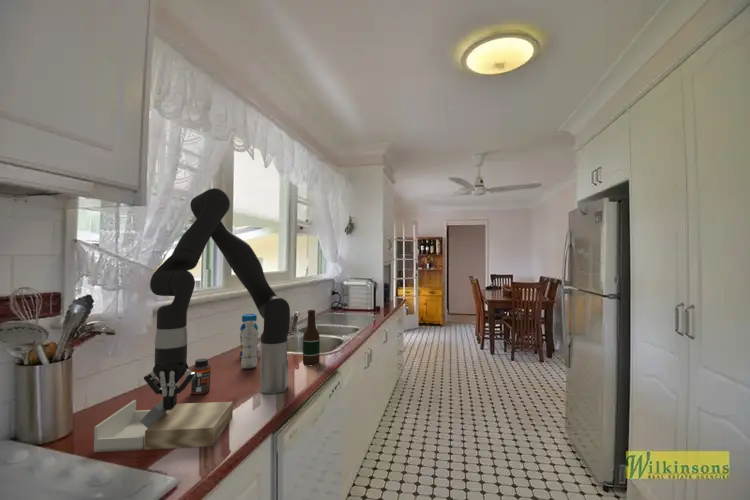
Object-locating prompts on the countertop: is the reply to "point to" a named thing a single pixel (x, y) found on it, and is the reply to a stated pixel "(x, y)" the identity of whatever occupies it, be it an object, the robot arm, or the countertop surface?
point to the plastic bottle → (249, 346)
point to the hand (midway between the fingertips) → (169, 408)
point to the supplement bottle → (201, 377)
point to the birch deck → (189, 425)
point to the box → (121, 430)
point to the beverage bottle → (245, 318)
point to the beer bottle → (311, 341)
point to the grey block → (154, 414)
